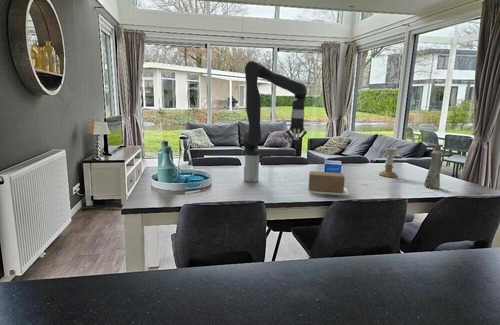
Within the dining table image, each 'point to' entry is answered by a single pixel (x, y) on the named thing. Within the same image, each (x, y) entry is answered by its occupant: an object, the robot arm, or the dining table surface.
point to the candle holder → (389, 163)
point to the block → (326, 181)
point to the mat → (332, 192)
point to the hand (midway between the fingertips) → (295, 145)
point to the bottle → (434, 169)
